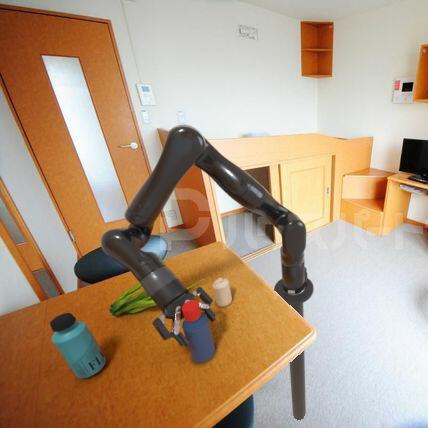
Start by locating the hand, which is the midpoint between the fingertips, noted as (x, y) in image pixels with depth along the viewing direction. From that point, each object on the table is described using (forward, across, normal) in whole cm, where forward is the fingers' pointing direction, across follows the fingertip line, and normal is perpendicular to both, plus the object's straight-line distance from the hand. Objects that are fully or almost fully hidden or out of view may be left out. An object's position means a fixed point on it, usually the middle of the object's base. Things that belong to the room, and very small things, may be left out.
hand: (201, 332), depth 65 cm
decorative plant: (-16, +9, +30) cm, 35 cm away
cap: (-5, 0, -3) cm, 6 cm away
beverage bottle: (-10, -17, +24) cm, 32 cm away
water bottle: (+6, 0, +8) cm, 10 cm away
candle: (-1, +18, +16) cm, 24 cm away
